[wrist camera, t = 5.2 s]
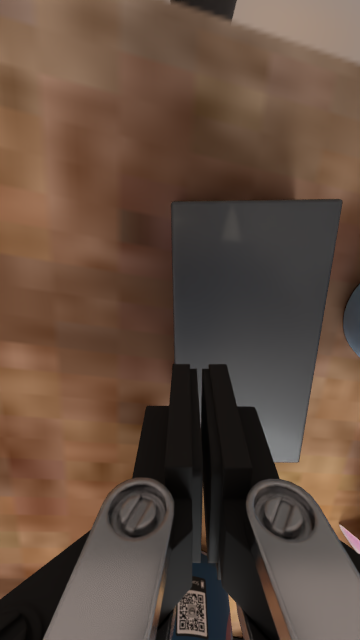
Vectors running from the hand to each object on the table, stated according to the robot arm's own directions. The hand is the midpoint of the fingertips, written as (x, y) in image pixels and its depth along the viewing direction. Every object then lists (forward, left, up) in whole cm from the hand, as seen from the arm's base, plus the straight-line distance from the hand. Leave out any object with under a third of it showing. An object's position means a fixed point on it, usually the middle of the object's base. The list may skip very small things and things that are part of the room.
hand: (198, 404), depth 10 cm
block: (0, +2, -8) cm, 9 cm away
